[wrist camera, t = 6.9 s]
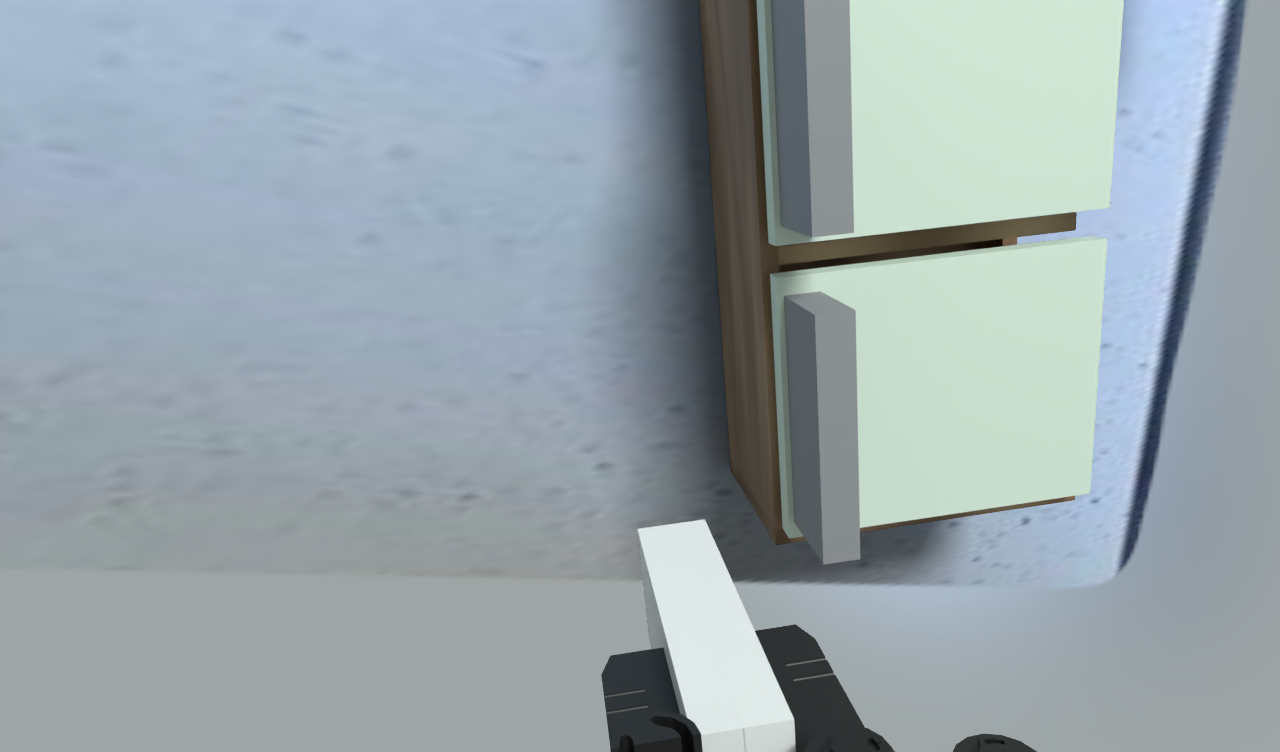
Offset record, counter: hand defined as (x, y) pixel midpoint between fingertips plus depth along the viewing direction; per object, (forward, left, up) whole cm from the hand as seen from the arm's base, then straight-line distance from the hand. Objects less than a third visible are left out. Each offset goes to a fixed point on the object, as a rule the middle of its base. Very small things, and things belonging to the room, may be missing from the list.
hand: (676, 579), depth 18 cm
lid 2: (+11, 0, -10) cm, 15 cm away
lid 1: (+11, +10, -10) cm, 18 cm away
